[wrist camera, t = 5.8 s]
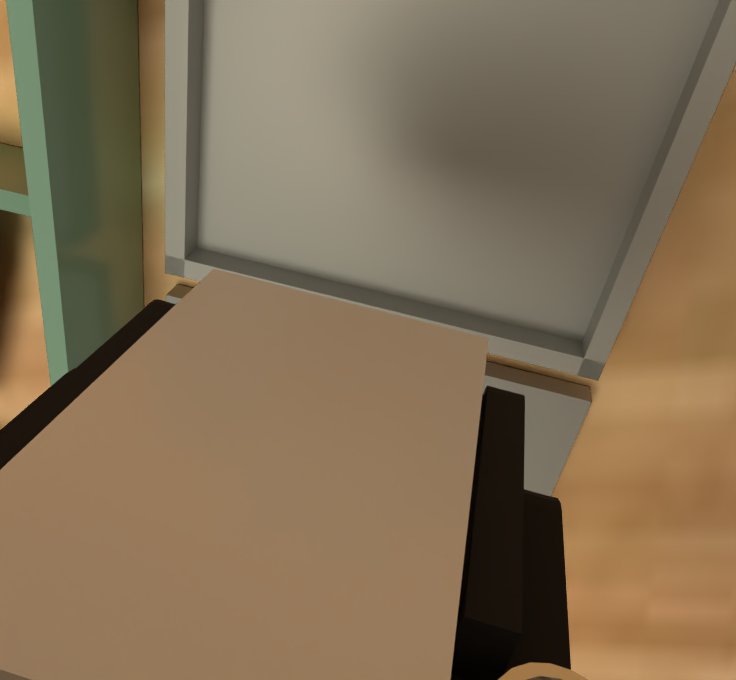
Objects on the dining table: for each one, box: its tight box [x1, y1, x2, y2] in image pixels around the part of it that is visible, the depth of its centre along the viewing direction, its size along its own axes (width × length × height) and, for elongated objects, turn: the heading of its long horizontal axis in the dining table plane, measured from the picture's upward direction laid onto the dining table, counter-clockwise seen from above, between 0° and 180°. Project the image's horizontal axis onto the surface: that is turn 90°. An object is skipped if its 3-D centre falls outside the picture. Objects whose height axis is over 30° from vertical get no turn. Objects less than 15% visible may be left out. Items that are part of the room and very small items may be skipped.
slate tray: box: [165, 0, 736, 496], centre depth 20 cm, size 14×34×2 cm, turn 170°
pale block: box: [0, 269, 489, 680], centre depth 8 cm, size 4×4×6 cm
